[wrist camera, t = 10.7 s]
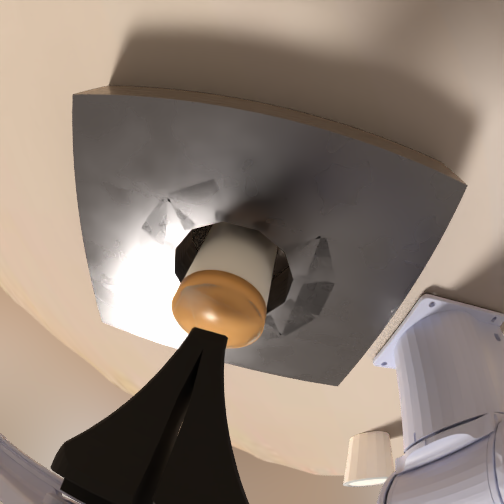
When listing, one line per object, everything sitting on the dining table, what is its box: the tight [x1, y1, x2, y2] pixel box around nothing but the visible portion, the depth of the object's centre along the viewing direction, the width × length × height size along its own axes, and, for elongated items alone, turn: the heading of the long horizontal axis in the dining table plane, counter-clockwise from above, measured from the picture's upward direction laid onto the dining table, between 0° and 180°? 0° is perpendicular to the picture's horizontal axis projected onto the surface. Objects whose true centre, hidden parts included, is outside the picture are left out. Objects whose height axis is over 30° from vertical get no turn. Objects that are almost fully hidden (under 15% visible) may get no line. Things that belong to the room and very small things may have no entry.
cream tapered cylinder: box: [343, 431, 394, 487], centre depth 29 cm, size 7×7×7 cm
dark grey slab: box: [72, 86, 467, 386], centre depth 16 cm, size 18×16×3 cm
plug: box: [171, 222, 277, 348], centre depth 15 cm, size 4×4×6 cm
